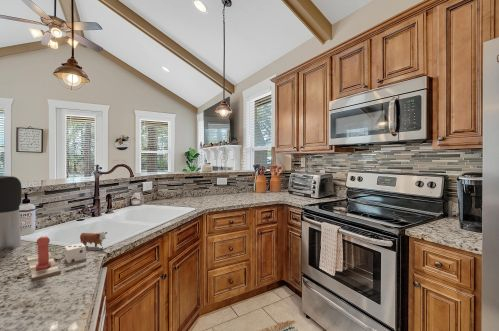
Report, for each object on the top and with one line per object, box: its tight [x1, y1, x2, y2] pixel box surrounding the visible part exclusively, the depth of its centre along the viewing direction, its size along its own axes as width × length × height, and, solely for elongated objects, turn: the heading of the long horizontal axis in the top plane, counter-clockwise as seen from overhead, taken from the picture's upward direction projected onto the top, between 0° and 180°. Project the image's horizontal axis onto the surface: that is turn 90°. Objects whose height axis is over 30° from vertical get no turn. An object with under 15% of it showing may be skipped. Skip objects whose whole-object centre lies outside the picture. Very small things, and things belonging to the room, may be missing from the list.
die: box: [64, 242, 87, 264], centre depth 101 cm, size 6×6×6 cm
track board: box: [26, 251, 62, 282], centre depth 97 cm, size 25×8×1 cm, turn 45°
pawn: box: [36, 235, 51, 271], centre depth 93 cm, size 4×4×12 cm
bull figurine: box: [79, 231, 108, 248], centre depth 114 cm, size 4×13×8 cm, turn 78°
